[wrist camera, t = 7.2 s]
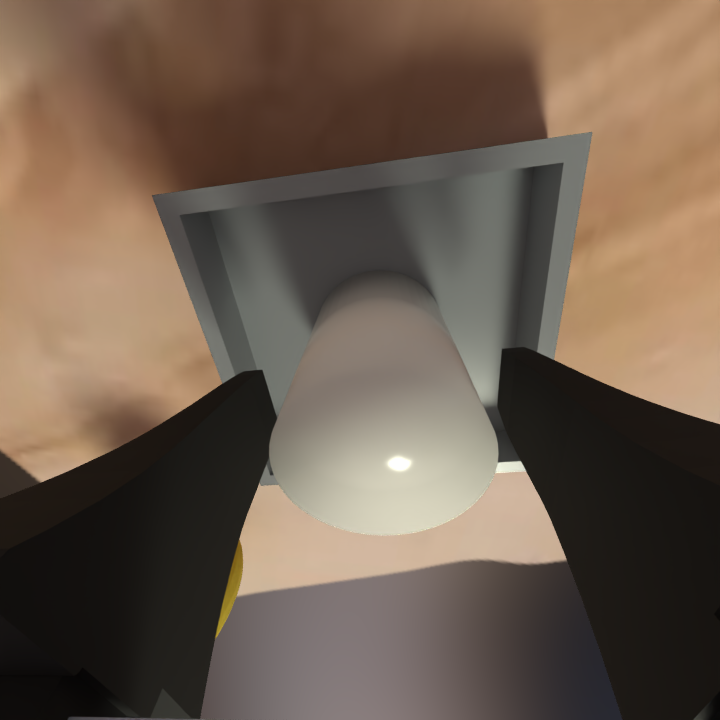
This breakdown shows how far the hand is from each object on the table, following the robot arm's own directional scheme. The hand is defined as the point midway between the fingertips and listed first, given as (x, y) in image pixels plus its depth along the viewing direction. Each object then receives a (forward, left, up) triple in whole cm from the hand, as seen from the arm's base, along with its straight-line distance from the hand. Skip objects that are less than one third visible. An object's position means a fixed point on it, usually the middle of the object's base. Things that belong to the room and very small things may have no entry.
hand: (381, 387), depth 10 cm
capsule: (0, 0, -4) cm, 4 cm away
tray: (0, 0, -4) cm, 4 cm away
